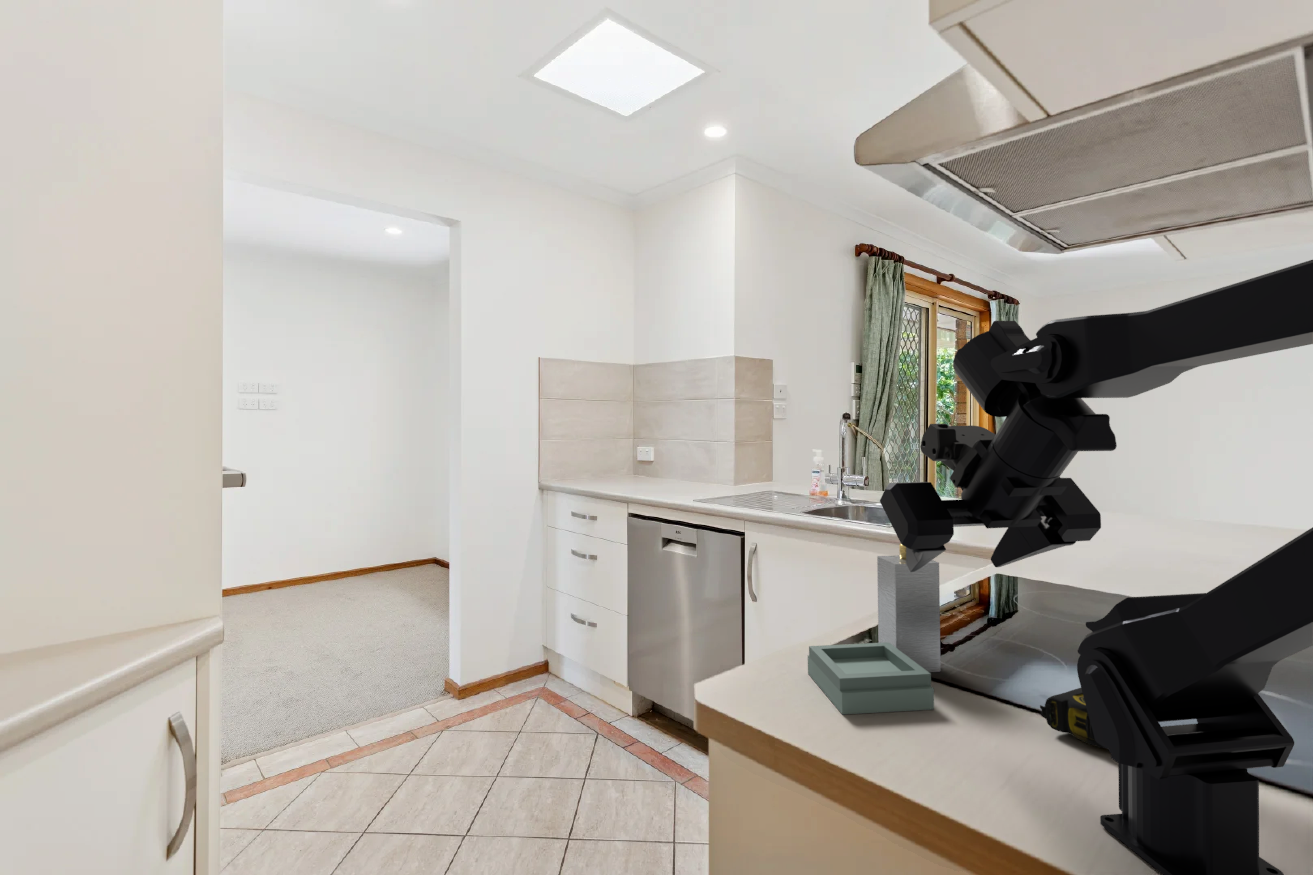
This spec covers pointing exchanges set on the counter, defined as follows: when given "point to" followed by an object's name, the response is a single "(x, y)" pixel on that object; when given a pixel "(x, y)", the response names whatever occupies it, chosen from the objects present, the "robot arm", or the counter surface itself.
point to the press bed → (870, 678)
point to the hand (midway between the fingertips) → (952, 565)
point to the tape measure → (1069, 715)
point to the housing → (910, 609)
